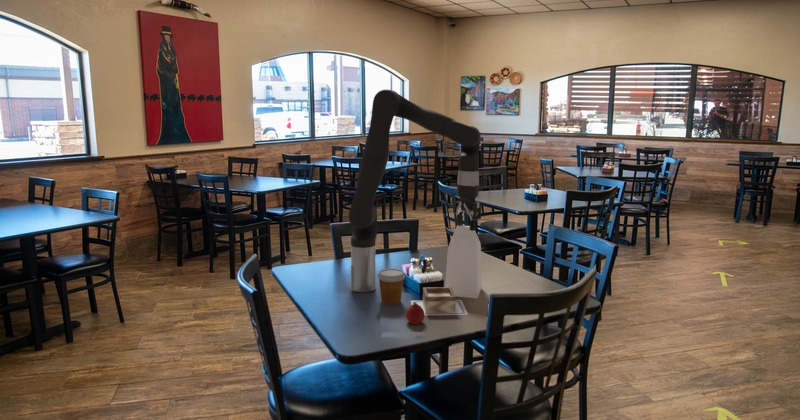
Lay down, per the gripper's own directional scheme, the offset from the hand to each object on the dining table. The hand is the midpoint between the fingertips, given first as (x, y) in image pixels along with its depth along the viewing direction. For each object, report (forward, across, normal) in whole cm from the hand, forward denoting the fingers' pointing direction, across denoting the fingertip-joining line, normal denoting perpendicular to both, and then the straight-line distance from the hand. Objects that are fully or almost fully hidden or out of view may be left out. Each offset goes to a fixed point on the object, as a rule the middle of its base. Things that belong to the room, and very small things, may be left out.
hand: (466, 228), depth 198 cm
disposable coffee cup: (+26, -3, -28) cm, 38 cm away
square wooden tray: (+24, +9, -16) cm, 31 cm away
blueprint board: (+26, +9, -16) cm, 32 cm away
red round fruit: (+26, +17, -29) cm, 43 cm away
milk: (+26, -1, +1) cm, 26 cm away
